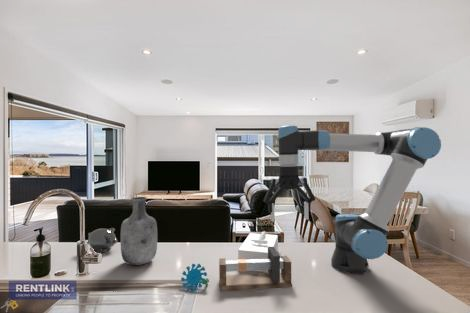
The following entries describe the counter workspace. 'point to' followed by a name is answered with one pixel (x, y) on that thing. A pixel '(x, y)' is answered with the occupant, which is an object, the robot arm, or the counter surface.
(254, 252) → the white pegged block
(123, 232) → the vase
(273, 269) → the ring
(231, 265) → the light grey bar
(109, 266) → the counter surface
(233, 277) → the wooden stand
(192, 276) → the gear
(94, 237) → the piggy bank
